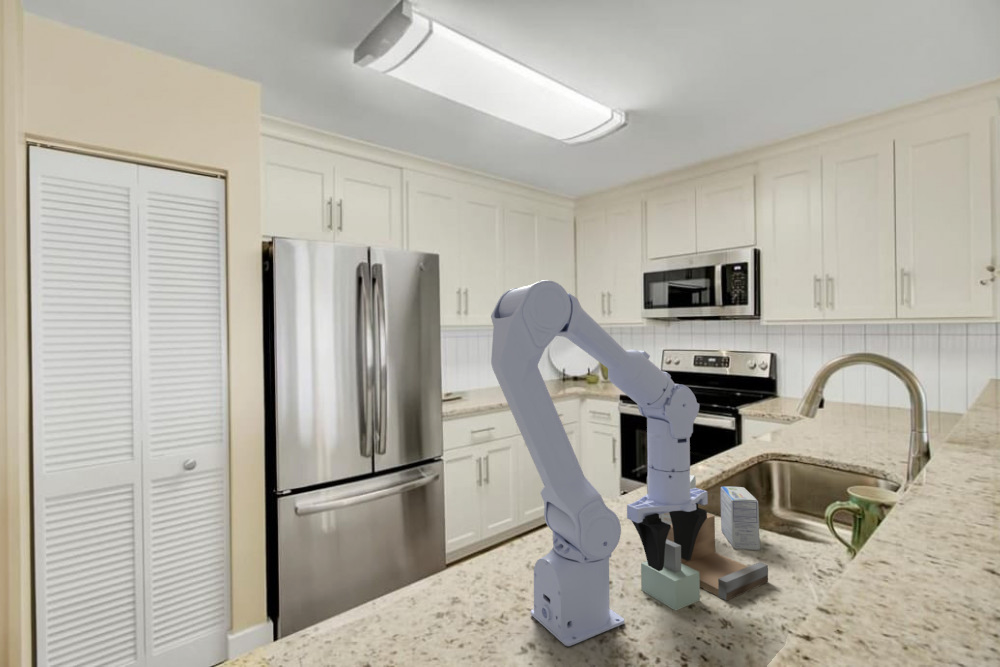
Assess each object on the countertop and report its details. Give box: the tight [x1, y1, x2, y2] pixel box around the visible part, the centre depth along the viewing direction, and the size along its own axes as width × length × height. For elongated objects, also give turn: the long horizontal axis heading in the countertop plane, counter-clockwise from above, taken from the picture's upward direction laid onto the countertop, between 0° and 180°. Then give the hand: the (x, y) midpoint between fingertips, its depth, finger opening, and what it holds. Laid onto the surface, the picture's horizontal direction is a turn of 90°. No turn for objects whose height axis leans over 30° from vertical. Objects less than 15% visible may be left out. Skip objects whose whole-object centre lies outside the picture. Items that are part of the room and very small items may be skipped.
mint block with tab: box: [640, 538, 701, 612], centre depth 66 cm, size 5×6×8 cm
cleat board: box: [667, 513, 769, 601], centre depth 72 cm, size 10×10×7 cm
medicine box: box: [719, 486, 761, 551], centre depth 84 cm, size 8×4×9 cm, turn 168°
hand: (669, 562), depth 66 cm, fingers open, 5 cm apart
